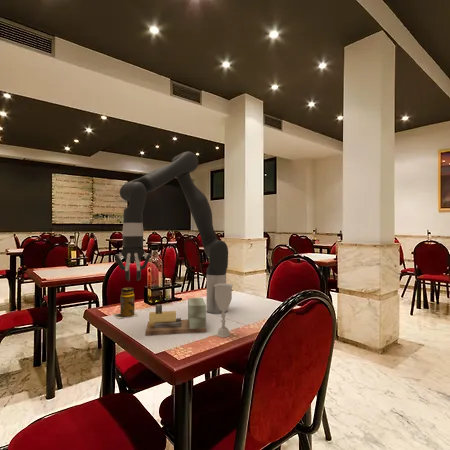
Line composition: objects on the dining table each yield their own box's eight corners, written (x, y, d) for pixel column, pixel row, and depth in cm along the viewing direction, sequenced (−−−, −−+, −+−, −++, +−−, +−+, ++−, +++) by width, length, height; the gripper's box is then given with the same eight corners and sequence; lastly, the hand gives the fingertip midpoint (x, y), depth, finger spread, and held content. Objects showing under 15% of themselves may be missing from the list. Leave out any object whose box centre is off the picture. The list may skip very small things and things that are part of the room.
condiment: (137, 316, 136) (137, 288, 136) (117, 319, 131) (117, 291, 132) (132, 312, 142) (132, 286, 142) (113, 315, 138) (113, 288, 138)
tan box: (175, 323, 120) (175, 303, 120) (176, 325, 117) (175, 305, 117) (149, 324, 119) (149, 304, 119) (149, 327, 116) (149, 306, 116)
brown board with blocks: (202, 322, 127) (202, 297, 127) (205, 332, 115) (205, 305, 115) (147, 325, 123) (147, 300, 123) (145, 335, 111) (145, 307, 111)
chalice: (225, 330, 117) (225, 282, 117) (237, 335, 111) (237, 285, 112) (209, 334, 112) (209, 285, 112) (221, 339, 107) (221, 287, 107)
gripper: (152, 234, 121) (152, 278, 121) (115, 234, 119) (115, 279, 119) (151, 235, 114) (151, 281, 114) (111, 235, 112) (111, 283, 111)
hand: (133, 280), depth 116 cm, fingers open, 3 cm apart
